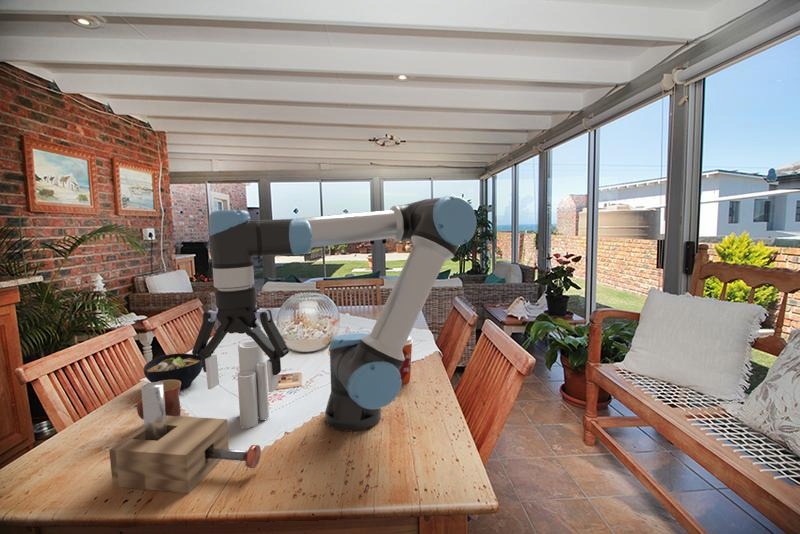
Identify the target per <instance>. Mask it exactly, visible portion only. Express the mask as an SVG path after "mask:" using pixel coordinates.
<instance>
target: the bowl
mask: <svg viewBox="0 0 800 534" xmlns="http://www.w3.org/2000/svg"><path fill="white" fill-rule="evenodd" d="M202 370H203V363H202V358H201V357H200V356H199V355H193V354H191V353H172V354H170V353H169V354H164V355H161V356H158V357H156V358H154V359H151V360H149V361H148V362H147V363H145V365H144V367H143V375H144V377H146V379H147V381H149V383H152V382H158V381H163V380H179V381H181V387H180V391H183V390H187V389H188V388H190V387H191V386H192V383H193V381H194V380H195V379H197V377H198V376H199V375H200V373H201V371H202ZM180 391H179V392H180Z"/></svg>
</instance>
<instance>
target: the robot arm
mask: <svg viewBox="0 0 800 534" xmlns="http://www.w3.org/2000/svg"><path fill="white" fill-rule="evenodd" d="M251 218H252V217H251V216H250V212H249V211H248V210H243V209H242V210H241V209H238V210H236V209H235V210H234V209H233V210H232V209H231V210H229V209H228V210H225V209H224V210H215V211H214V210H213V211H212V212H211V213H210V214H209V215H208V228H209V229H208V230H209V243H210V252H211V254H210V255H211V262H212V263H211V265H212V279H213V287H214V288H216V290H215V291H214V300H215V307H216V308H217V311H216V310H215V309H214V308H213V309H209V310H207V311H204V312H203V313H202V324H201V326H200V329H199V332H198V334H197V337H196V340H195V343H194V345H193V348H192V350H191V353H192V354H193V355H199V356H200V357H201V358H202V363H203V368H202V370H203V373H206V383H207V385H206V386H207V390H212V389H214V388H215V387H217V386H218V385H220V379H219V365H218V356H217V355H218V354H214V353H215V351H216V349H217V348H218V347H219V345H220V344H221V342H222V341H223V339H224V338H225V337H226V335H227V334H239V335H240V334H243V335H244V334H246V335H247V337H250V338H251V339H252V341H255V342H256V343H257V344H258V346H259V347H260V348H261V349H262V350H263V351H264V354H265V356H267V357H268V358H269V359H267V360H265V362H266V364H267V385H268V393H273V392H274V391H275V390H276V389H277V388H278V387H279V375H280V373H281V371H282V365H281V359H282V358H284V357H285V356H287V354H289V352H290V349H289V347H288V346H287V343H286V341H285V339H284V338H283V337H282V335H281V332H280V331H279V329H278V327H277V325H276V324H275V322H274V320H273V315H272V311H271V310H270V309H266V310H264V311H257V308H256V305H257V297H256V288H255V287H254V285H255V272H254V271H255V269H254V261H253V259H254V258H256V257H257V258H259V257H269V256H270V257H275V256H292V255H293V256H297V255H305V254H309V253H311V250H312V248H317V247H318V248H319V247H326V246H335V245H343V244H344V245H345V244H354V243H360V242H361V243H363V242H370V241H372V242H373V241H378V240H387V239H393V240H394V241H395V242H400V241H404V242H405V241H411V243H412V246H413V247H412V248H411V250H410V253H409V255H408V257H407V259H406V260H405V263H404V265H403V267H402V269H401V271H400V273H399V275H398V277H397V279H396V281H395V284H394V285H393V287H392V289H391V291H390V293H389V295H388V297H387V300H386V302H385V303H384V306H383V308H382V310H381V312H380V314H379V316H378V318H377V319H376V322H375V324H374V326H373V328H372V329H371V332H370V333H363V332H361V333H359V332H358V333H346V334H340V335H336V336H334V337H332V338H331V339H330V342H329V349H328V351H329V366H330V369H329V370H330V394H329V398H328V401H327V403H326V407H325V411H324V413H325V414H324V417H325V418H324V419H325V423H326V424H327V426H329V427H330V428H331V429H334V430H336V431H343V432H355V431H362V430H366V429H369V428H371V427H373V426H374V425H376V424H378V422H379V421H380V419H381V417H382V412H381V411H382V408H383V407H386V406H388V405H390V404H391V403H392V402H393V401H394V400H395V399H396V398H397V396H398V395H399V394H400V391H401V389H402V385H403V384H402V380H401V375H400V372H399V371H400V369H401V367H402V364H403V362H404V360H405V358H404V355H403V352H402V350H403V347H404V345H405V343H406V341H407V339H408V337H409V336H410V335H411V333H412V330H413V329H414V326H415V324H416V323H417V320H418V317H419V316H420V314H421V313H422V312H421V311H422V310H423V309H424V305H425V304H426V301H427V299H428V298H429V295H430V293H431V291H432V289H433V286H434V285H435V283H436V281H437V278H438V276H439V274H440V272H441V270H442V268H443V266H444V263H446V261H448V260H451V259H454V258H455V256H456V253H457V251H458V249H459V247H460V246H463V245H464V244H466V243H468V242H470V241H471V239H472V238H473V236H474V235H475V233H476V229H477V216H476V213H475V210H474V207H473V206H472V205H471V203H470V202H469V201H468V200H466V199H465V198H463V197H461V196H458V195H457V196H456V195H445V196H444V195H443V196H440V197H434V198H426V199H421V200H418V201H415V202H411V203H405V204H401V205H400V204H399V205H393V206H391V208H390V209H388V210H387V209H385V210H377V211H374V210H373V211H366V212H365V211H363V212H353V213H343V214H333V215H332V214H330V215H329V214H328V215H319V216H311V217H297V218H283V219H282V218H281V219H279V218H278V219H260V220H258V219H251ZM257 320H258V322H259V323H261V326H260V324H259V323H258V322H257ZM216 321H218V322H219V323H220V324H219V325H218V327H217V329H216V330H215V333H214V334H213V336H212V337H211V334H212V332H213V329H214V326H215V324H216ZM261 327H262V328H263V330H262V328H261ZM264 332H265V333H264ZM210 338H211V339H210ZM209 339H210V340H209Z"/></svg>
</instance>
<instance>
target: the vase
mask: <svg viewBox="0 0 800 534" xmlns="http://www.w3.org/2000/svg"><path fill="white" fill-rule="evenodd" d="M237 347H238V348H237V349H238V350H237V351H238V366H239V367H238V368H239V370H238V371H239V372H238V373H237V387H238V389H237V390H238V405H239V406H238V407H239V409H238V410H239V423H240V427H241V428H242V427H243V428H242V429H246V428H247V429H251V428H250V427H252V428H254V427H256V426H257V425H258V424H259V421H261V420H265V419H267V418H268V417H269V418H270V410H269V407H270V405H269V389H268V375H267V362H266V360H265V357H266V354H265V352H264V351H263V350H262V349H261V348H260V347H259V346H258V344H257V343H256V342H255V341H254V340H250V341H245V342H241V343H239V344H238V345H237ZM258 417H259V418H258ZM259 419H260V420H259ZM267 420H268V419H267ZM265 421H266V420H265ZM257 423H258V424H257ZM256 424H257V425H256ZM255 425H256V426H255ZM253 426H254V427H253Z"/></svg>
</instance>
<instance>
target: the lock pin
mask: <svg viewBox="0 0 800 534" xmlns="http://www.w3.org/2000/svg"><path fill="white" fill-rule="evenodd" d="M261 452H262V450H261V446H260V445H259V444H251V445H250V446H249V448H248V450H242V449H230V448H229V449H216V448H207V449H206V450H205V458H209V459H222V460H221V461H223V460H226V461H240V462H245V465H246V468H247V469H256V467H257V466H258V464H259V462H260V459H261V454H262V453H261Z"/></svg>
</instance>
